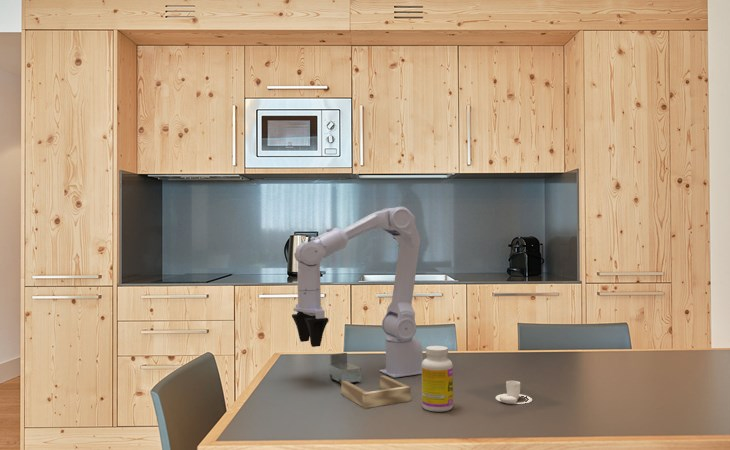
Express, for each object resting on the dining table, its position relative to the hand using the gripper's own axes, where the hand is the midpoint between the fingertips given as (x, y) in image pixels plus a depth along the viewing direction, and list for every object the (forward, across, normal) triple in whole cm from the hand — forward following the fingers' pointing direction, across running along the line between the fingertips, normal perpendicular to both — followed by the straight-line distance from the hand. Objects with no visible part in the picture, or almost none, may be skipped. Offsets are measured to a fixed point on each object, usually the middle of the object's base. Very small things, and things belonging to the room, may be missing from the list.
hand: (310, 343), depth 147 cm
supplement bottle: (+10, +33, +16) cm, 38 cm away
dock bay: (+10, +19, +8) cm, 23 cm away
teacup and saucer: (+11, +34, +32) cm, 48 cm away
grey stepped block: (+10, +3, +8) cm, 13 cm away
